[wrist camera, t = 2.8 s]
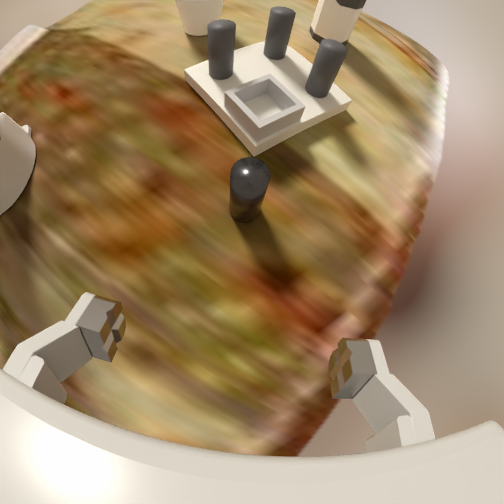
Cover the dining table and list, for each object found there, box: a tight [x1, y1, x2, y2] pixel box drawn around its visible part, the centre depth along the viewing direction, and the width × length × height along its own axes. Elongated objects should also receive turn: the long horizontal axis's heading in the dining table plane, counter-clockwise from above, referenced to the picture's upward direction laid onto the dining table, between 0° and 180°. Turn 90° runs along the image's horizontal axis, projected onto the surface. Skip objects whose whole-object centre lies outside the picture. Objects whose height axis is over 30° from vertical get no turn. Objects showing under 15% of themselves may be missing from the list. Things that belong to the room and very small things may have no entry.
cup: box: [175, 0, 224, 36], centre depth 33 cm, size 9×9×12 cm
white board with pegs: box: [184, 7, 352, 157], centre depth 31 cm, size 18×18×12 cm
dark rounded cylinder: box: [229, 157, 270, 223], centre depth 28 cm, size 4×4×9 cm
